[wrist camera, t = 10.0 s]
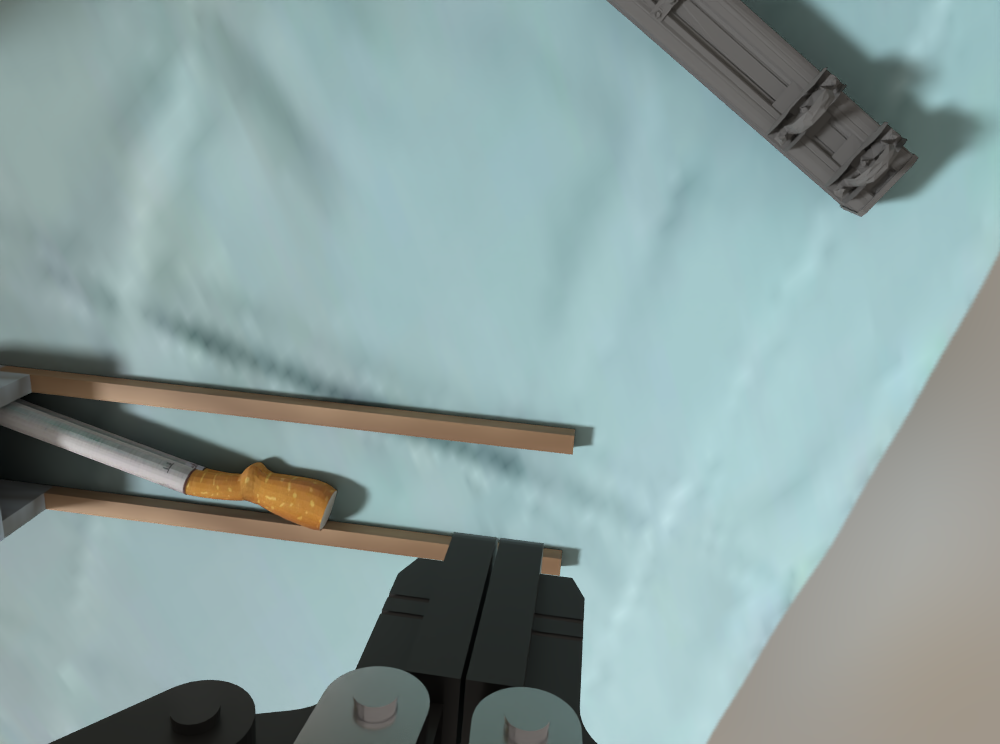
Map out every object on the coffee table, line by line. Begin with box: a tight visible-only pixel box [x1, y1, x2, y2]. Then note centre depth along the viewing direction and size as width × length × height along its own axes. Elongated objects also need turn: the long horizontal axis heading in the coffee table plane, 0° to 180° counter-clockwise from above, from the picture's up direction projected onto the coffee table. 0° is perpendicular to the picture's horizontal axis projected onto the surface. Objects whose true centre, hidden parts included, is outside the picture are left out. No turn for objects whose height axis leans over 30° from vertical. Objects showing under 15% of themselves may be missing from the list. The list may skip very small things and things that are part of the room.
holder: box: [0, 365, 575, 576], centre depth 42 cm, size 8×35×5 cm, turn 86°
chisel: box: [0, 399, 337, 531], centre depth 44 cm, size 19×3×3 cm
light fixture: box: [607, 0, 918, 216], centre depth 33 cm, size 3×15×6 cm, turn 51°
